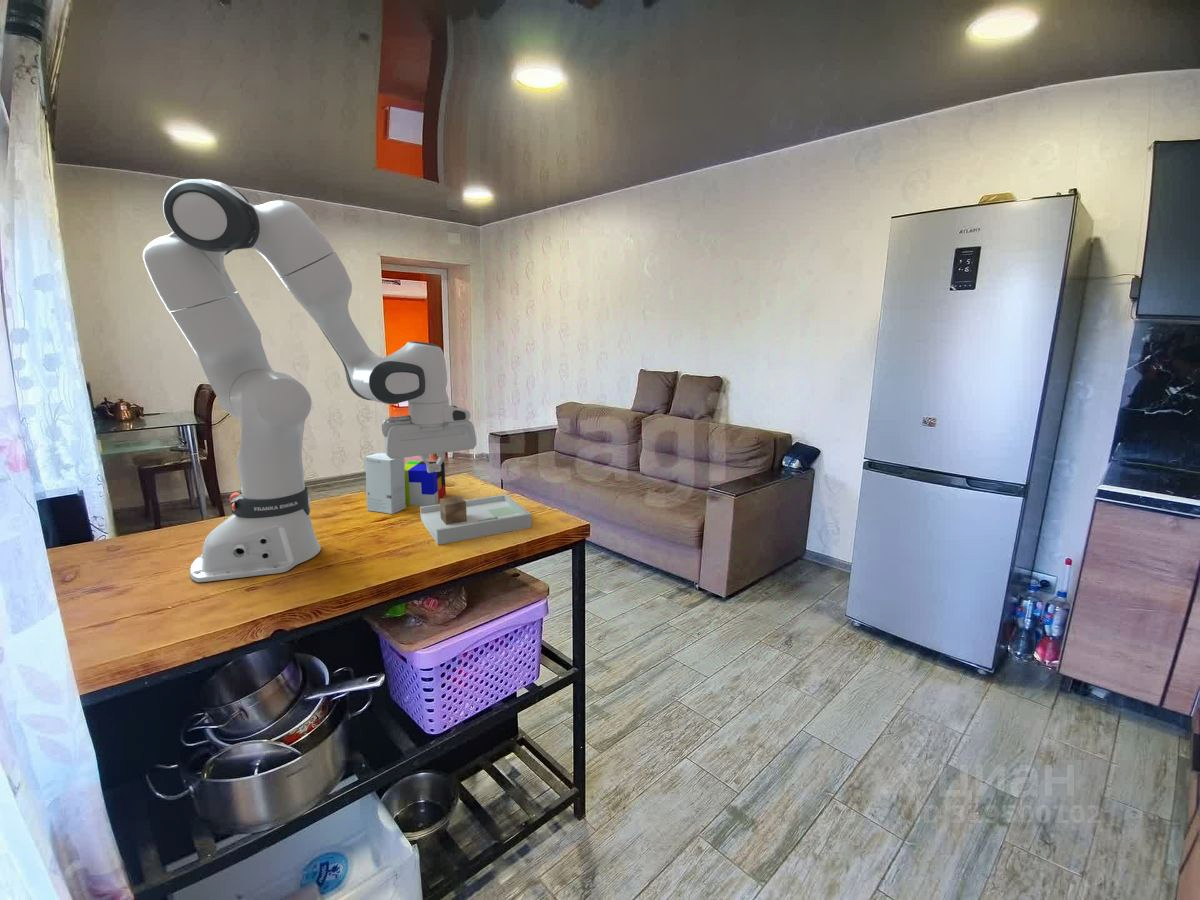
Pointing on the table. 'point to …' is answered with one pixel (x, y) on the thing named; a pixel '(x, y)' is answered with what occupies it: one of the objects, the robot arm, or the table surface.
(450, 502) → the walnut block
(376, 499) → the skincare box
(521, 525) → the platform
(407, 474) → the puzzle toy
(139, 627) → the table surface
